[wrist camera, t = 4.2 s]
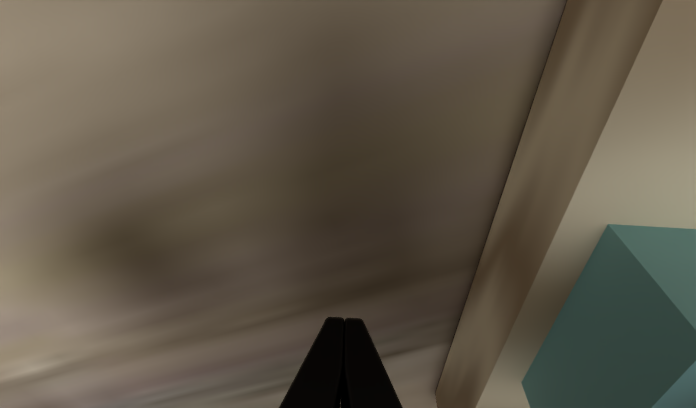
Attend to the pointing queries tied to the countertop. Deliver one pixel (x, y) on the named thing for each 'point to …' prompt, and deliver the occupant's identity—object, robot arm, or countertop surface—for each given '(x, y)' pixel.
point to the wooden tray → (579, 182)
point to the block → (624, 327)
